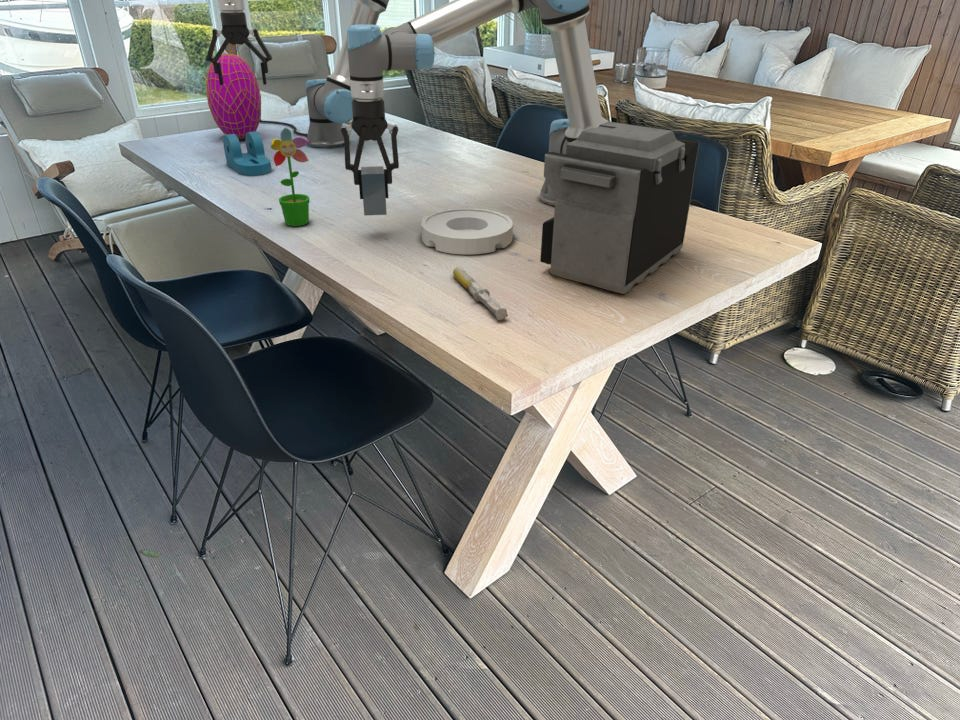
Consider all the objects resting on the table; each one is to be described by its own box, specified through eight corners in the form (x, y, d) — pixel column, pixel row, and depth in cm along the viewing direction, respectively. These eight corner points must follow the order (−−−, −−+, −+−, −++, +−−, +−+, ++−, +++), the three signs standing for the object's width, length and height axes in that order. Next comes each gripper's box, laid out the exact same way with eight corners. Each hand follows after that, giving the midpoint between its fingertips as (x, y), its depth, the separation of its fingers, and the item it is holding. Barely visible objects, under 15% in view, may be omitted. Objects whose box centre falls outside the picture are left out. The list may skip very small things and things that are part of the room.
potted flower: (284, 229, 179) (270, 130, 166) (277, 220, 185) (263, 124, 172) (319, 224, 183) (308, 127, 170) (311, 215, 188) (300, 121, 176)
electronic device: (606, 230, 180) (619, 111, 165) (687, 249, 169) (709, 123, 154) (532, 275, 155) (539, 139, 140) (621, 301, 144) (640, 156, 128)
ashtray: (426, 221, 185) (425, 207, 183) (512, 223, 185) (512, 208, 183) (416, 253, 165) (416, 237, 163) (512, 255, 165) (513, 239, 163)
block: (364, 207, 175) (361, 166, 170) (385, 206, 176) (383, 166, 171) (364, 215, 169) (361, 174, 164) (386, 214, 170) (384, 173, 165)
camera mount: (227, 164, 233) (221, 132, 227) (257, 160, 238) (252, 129, 233) (244, 176, 220) (239, 143, 215) (276, 172, 225) (271, 139, 220)
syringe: (449, 274, 155) (449, 263, 153) (465, 272, 156) (464, 260, 154) (490, 323, 135) (491, 310, 133) (508, 319, 136) (508, 307, 134)
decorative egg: (252, 130, 278) (239, 49, 262) (275, 139, 265) (264, 54, 250) (206, 137, 266) (190, 53, 251) (228, 146, 254) (213, 59, 239)
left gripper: (187, 12, 209) (201, 86, 219) (272, 12, 212) (281, 85, 223) (192, 10, 215) (205, 82, 226) (274, 10, 218) (283, 81, 229)
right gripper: (326, 102, 155) (336, 203, 166) (408, 101, 157) (412, 200, 169) (327, 96, 161) (336, 193, 173) (406, 95, 164) (410, 191, 175)
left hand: (243, 84), depth 224 cm, fingers open, 13 cm apart
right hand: (374, 196), depth 171 cm, fingers closed on block, 5 cm apart
